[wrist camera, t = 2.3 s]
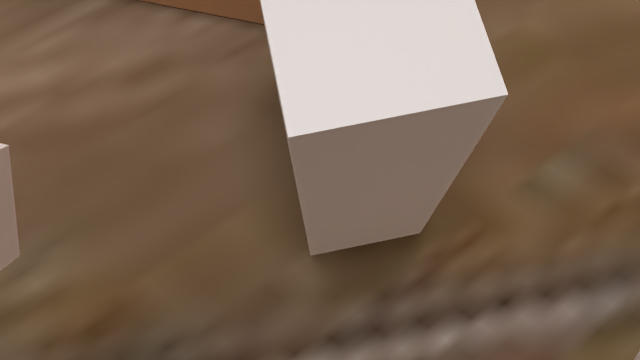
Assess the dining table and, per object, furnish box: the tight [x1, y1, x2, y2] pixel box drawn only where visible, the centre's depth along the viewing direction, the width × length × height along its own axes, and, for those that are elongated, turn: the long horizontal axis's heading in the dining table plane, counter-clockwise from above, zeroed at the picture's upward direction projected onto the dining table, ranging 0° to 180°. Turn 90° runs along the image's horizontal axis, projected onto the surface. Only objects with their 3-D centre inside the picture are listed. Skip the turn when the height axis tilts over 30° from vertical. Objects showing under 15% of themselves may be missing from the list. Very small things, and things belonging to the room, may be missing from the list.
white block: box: [260, 0, 508, 256], centre depth 20 cm, size 5×9×13 cm, turn 11°
